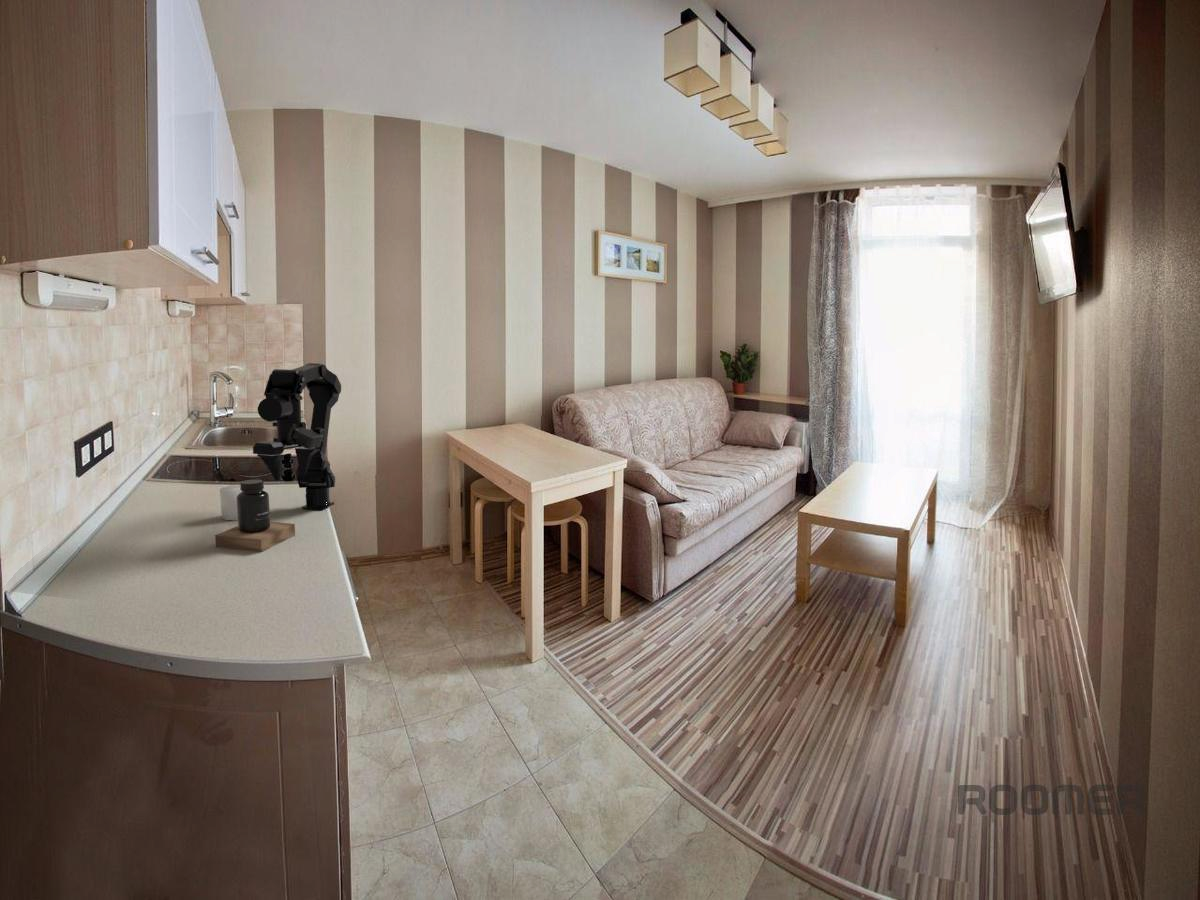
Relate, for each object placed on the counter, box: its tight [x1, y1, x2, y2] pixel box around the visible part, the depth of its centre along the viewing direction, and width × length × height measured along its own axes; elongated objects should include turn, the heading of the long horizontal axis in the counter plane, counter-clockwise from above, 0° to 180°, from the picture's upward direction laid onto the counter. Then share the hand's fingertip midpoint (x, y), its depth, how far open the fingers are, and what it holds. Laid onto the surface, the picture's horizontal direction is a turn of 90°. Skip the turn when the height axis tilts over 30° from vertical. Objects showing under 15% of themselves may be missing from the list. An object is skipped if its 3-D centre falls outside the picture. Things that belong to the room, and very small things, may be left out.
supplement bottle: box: [237, 479, 271, 533], centre depth 144 cm, size 7×7×12 cm
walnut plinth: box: [214, 521, 296, 553], centre depth 145 cm, size 12×12×3 cm
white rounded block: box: [219, 484, 242, 521], centre depth 162 cm, size 7×7×8 cm
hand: (291, 477), depth 155 cm, fingers open, 9 cm apart
